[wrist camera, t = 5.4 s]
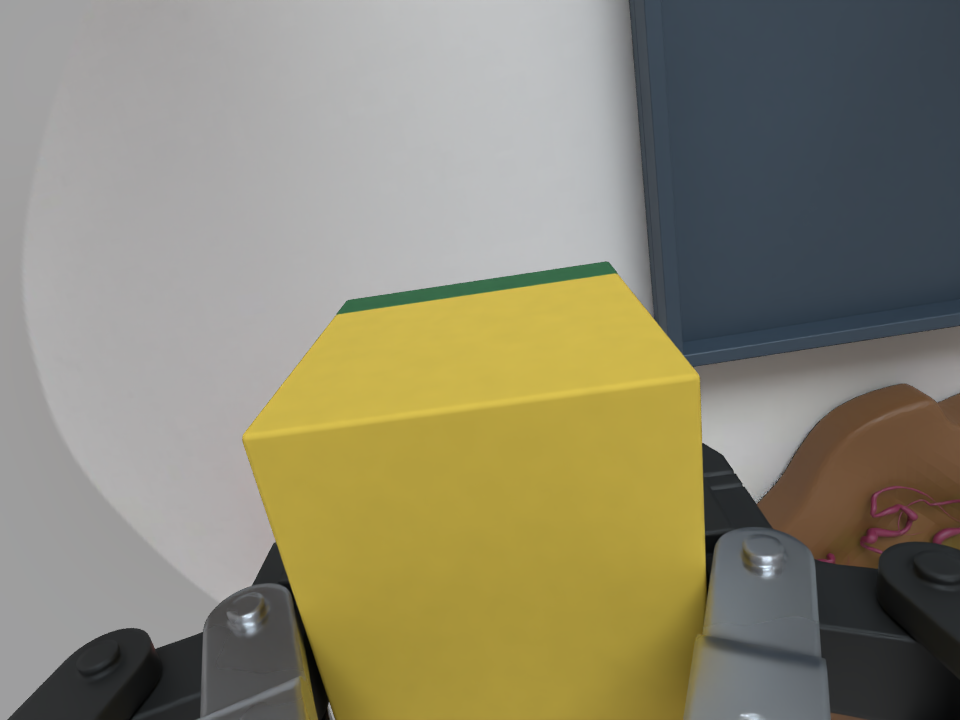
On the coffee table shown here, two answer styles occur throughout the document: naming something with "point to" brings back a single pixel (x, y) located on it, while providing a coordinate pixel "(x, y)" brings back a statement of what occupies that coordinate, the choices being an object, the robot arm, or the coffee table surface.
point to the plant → (873, 479)
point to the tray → (799, 170)
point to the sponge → (492, 502)
